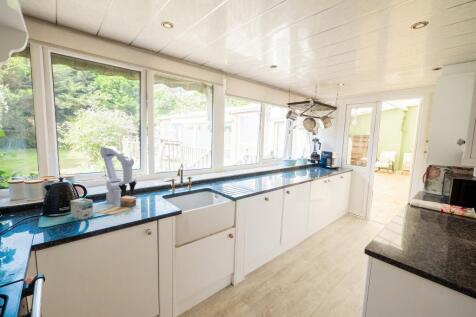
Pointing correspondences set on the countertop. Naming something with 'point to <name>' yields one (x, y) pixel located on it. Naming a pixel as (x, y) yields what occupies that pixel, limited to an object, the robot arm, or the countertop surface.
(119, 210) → the board
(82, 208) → the light bulb box
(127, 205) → the box
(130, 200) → the salmon pink block
